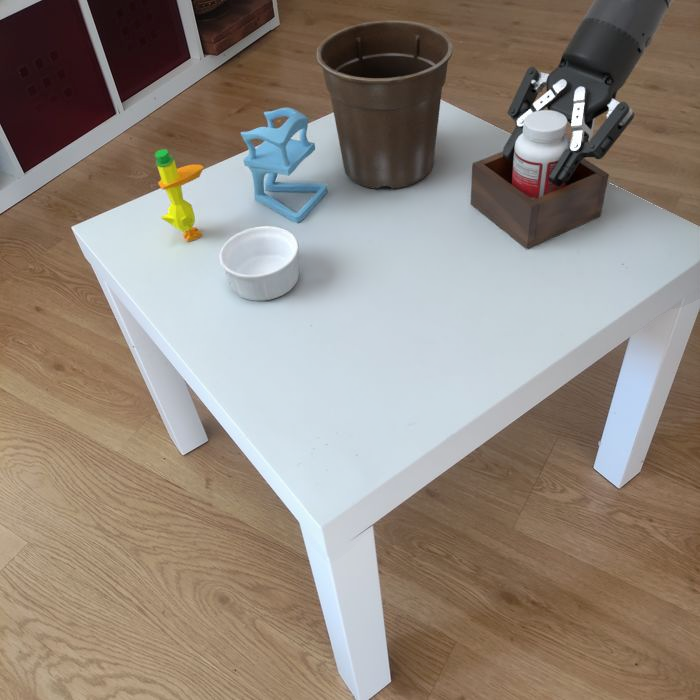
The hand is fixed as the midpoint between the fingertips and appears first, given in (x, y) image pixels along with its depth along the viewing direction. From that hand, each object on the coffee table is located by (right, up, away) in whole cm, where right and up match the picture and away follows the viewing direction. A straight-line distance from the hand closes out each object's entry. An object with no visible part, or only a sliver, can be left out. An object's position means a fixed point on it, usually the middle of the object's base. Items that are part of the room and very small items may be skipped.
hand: (530, 171), depth 83 cm
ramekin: (-30, -12, 0) cm, 33 cm away
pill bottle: (+2, -3, +5) cm, 6 cm away
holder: (+2, -3, +5) cm, 6 cm away
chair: (-29, -1, +11) cm, 31 cm away
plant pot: (-15, +4, +15) cm, 22 cm away
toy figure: (-40, -6, +7) cm, 41 cm away
